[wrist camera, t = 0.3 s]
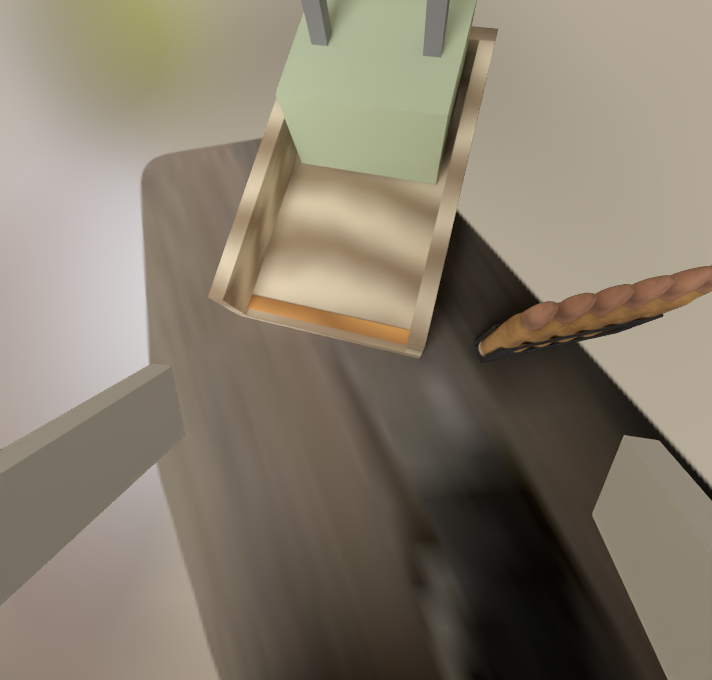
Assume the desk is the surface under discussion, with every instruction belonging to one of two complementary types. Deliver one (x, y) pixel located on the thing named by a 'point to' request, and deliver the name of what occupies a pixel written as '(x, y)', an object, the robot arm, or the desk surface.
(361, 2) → the green panel with handle
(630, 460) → the robot arm
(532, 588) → the desk surface
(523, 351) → the ammunition clip
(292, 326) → the bay
